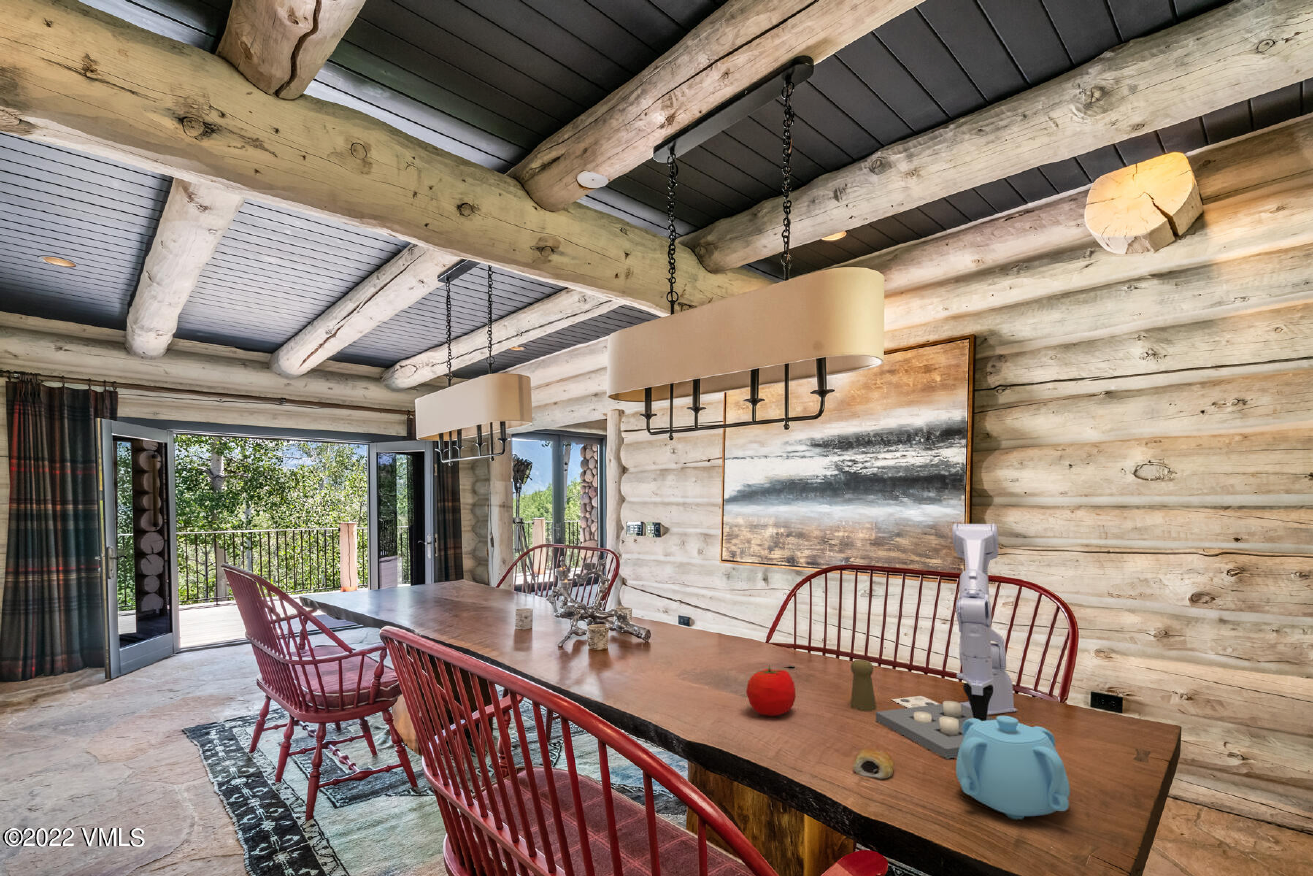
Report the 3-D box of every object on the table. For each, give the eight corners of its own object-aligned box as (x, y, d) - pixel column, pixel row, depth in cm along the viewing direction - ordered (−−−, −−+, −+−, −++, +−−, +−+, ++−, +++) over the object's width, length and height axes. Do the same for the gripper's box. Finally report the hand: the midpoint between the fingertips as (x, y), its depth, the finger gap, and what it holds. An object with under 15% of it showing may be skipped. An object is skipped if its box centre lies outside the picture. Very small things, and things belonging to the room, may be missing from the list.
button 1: (953, 713, 139) (952, 700, 140) (965, 718, 136) (964, 705, 136) (940, 715, 138) (939, 701, 139) (952, 720, 135) (951, 706, 135)
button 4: (950, 729, 129) (949, 715, 130) (963, 736, 126) (962, 721, 126) (936, 731, 128) (935, 717, 129) (948, 738, 125) (948, 723, 125)
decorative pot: (964, 773, 113) (960, 696, 114) (1069, 795, 104) (1063, 711, 105) (952, 811, 99) (946, 723, 101) (1071, 839, 90) (1063, 743, 92)
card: (921, 697, 156) (921, 695, 156) (944, 707, 148) (944, 705, 148) (891, 700, 153) (891, 698, 153) (913, 711, 146) (913, 709, 146)
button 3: (924, 724, 137) (923, 710, 137) (935, 729, 133) (935, 716, 134) (910, 726, 136) (910, 712, 136) (922, 731, 132) (921, 717, 133)
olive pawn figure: (878, 712, 145) (876, 664, 146) (851, 710, 146) (850, 663, 148) (874, 703, 151) (872, 657, 152) (849, 702, 152) (847, 656, 153)
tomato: (808, 715, 144) (807, 670, 145) (767, 725, 137) (766, 678, 138) (776, 702, 153) (774, 659, 154) (736, 711, 147) (735, 667, 148)
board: (955, 710, 146) (954, 702, 146) (1036, 746, 125) (1035, 735, 125) (876, 721, 139) (875, 711, 140) (947, 759, 118) (946, 749, 119)
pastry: (864, 757, 121) (863, 736, 121) (900, 764, 117) (899, 744, 117) (851, 775, 113) (851, 753, 113) (890, 784, 109) (889, 761, 110)
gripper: (957, 645, 139) (960, 708, 138) (953, 660, 127) (957, 729, 125) (992, 649, 136) (996, 712, 134) (992, 664, 123) (997, 735, 122)
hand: (980, 721), depth 130 cm, fingers closed, pressing on button 2
